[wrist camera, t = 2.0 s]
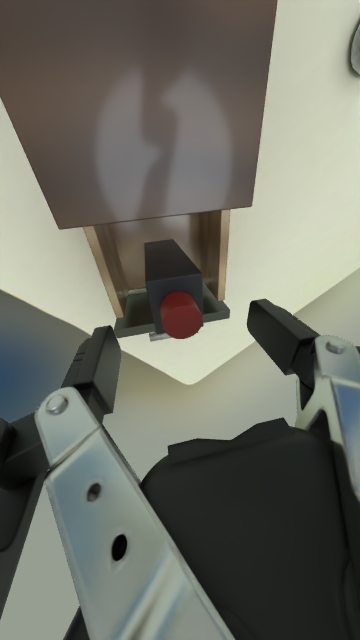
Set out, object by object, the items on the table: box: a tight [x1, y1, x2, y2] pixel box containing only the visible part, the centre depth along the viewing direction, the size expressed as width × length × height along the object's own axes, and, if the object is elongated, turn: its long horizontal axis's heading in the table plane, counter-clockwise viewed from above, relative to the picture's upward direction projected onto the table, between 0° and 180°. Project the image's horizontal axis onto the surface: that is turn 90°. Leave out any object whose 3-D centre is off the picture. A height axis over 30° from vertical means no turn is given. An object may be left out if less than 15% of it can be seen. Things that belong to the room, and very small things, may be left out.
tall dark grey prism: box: [144, 239, 203, 339], centre depth 16 cm, size 4×4×15 cm
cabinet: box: [0, 0, 277, 230], centre depth 12 cm, size 16×15×10 cm
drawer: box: [83, 209, 230, 341], centre depth 20 cm, size 19×13×8 cm
